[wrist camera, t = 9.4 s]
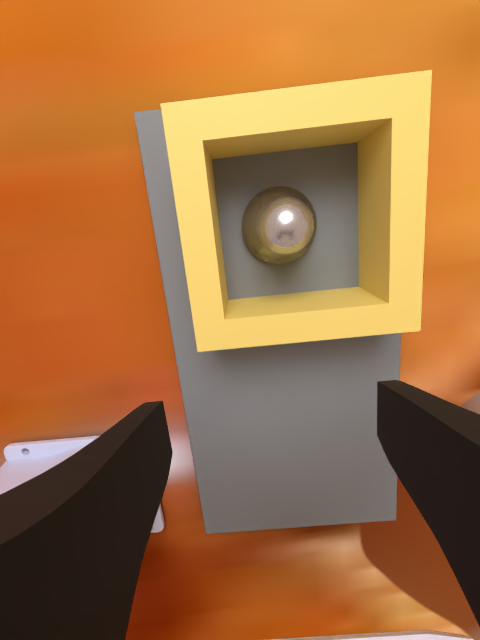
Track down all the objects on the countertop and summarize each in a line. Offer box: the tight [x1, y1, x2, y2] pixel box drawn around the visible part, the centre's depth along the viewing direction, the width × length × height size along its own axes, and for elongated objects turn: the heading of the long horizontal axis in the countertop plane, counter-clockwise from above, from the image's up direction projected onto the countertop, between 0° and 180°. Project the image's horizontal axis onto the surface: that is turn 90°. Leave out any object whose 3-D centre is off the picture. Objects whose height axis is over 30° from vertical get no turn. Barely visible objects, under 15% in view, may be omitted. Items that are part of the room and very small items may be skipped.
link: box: [161, 70, 432, 352], centre depth 16 cm, size 10×10×4 cm
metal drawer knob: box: [242, 186, 317, 264], centre depth 15 cm, size 4×4×4 cm
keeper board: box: [134, 109, 401, 534], centre depth 20 cm, size 13×26×1 cm, turn 6°
